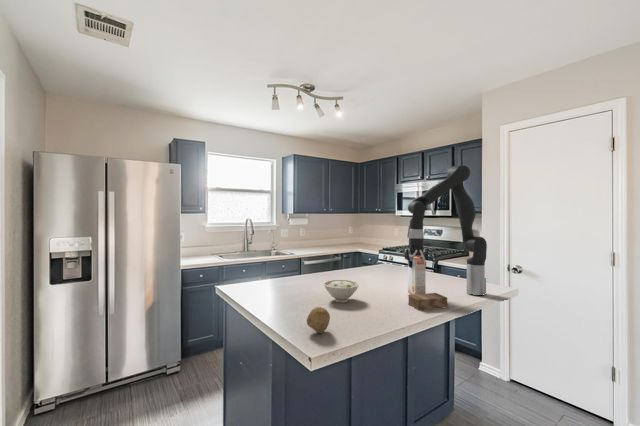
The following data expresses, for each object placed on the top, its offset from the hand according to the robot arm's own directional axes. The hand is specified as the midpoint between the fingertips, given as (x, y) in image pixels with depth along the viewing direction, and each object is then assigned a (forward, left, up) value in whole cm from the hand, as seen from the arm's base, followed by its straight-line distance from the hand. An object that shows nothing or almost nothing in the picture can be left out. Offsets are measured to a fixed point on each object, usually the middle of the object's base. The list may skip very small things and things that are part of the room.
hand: (416, 267), depth 165 cm
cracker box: (0, 0, -16) cm, 16 cm away
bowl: (+42, -5, -17) cm, 46 cm away
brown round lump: (+64, +34, -17) cm, 75 cm away
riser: (+3, +15, -17) cm, 23 cm away
